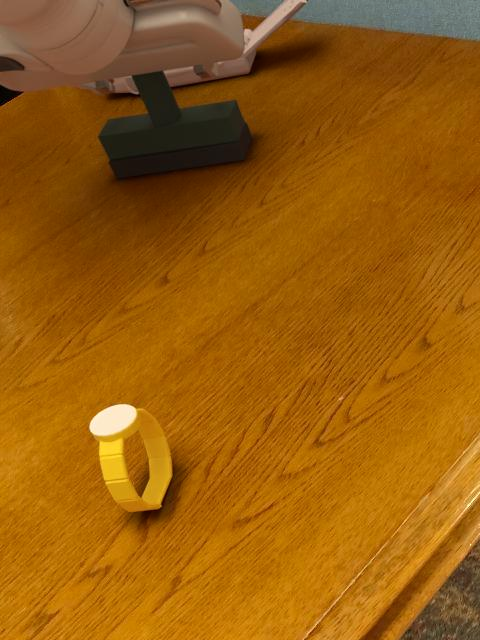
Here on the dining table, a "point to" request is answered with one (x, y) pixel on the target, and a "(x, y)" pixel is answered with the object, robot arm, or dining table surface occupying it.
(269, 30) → the mobile phone
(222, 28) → the robot arm
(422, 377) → the dining table surface
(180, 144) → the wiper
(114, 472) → the watch
